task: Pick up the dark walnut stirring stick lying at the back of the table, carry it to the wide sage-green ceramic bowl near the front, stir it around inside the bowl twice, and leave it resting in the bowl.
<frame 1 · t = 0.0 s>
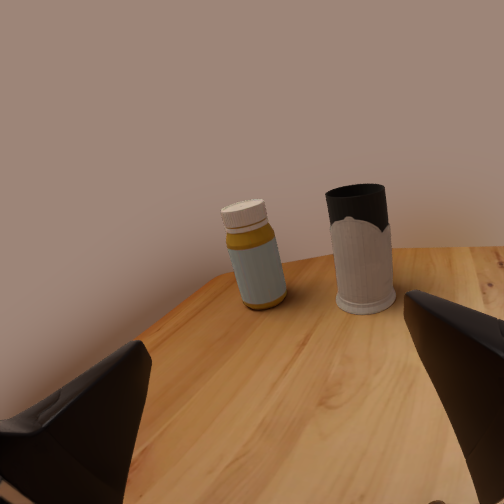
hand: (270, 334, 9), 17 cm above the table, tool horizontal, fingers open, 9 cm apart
bottle: (265, 299, 44), on the table
glass holder: (371, 287, 39), on the table
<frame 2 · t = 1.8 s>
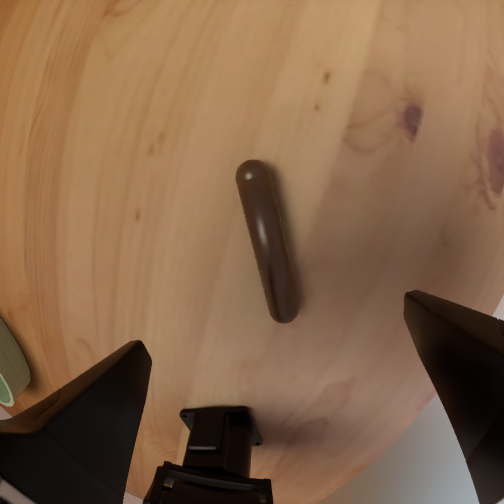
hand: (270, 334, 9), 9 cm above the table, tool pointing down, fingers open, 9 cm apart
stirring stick: (270, 242, 17), on the table
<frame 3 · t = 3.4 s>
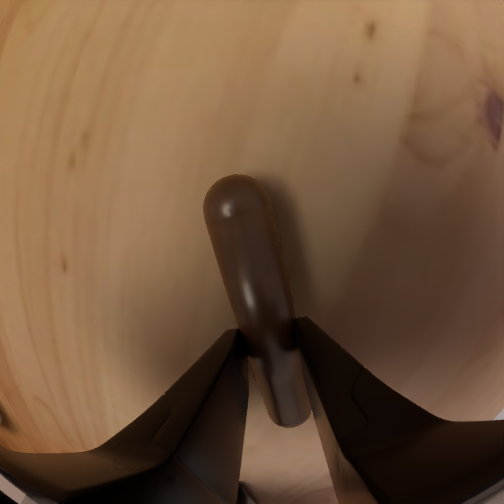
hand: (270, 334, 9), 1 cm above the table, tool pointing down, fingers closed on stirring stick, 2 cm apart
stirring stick: (270, 316, 10), on the table, touching gripper
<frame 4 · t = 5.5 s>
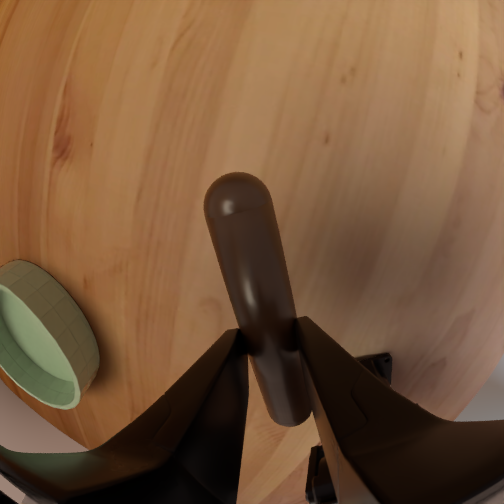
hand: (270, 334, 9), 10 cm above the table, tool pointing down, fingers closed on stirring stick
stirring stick: (270, 314, 10), point 9 cm above the table, touching gripper
bowl: (41, 327, 23), on the table
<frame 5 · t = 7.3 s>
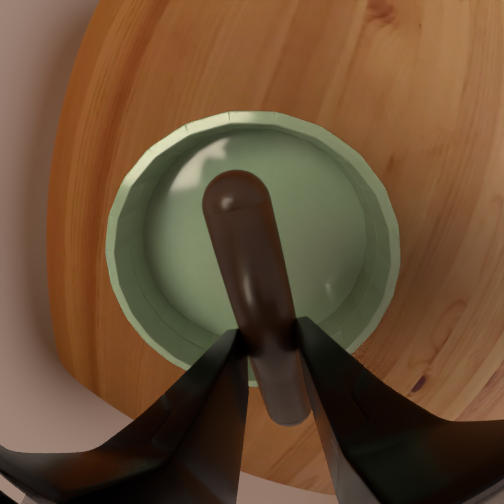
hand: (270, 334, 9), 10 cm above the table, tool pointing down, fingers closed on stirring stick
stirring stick: (269, 313, 10), point 9 cm above the table, touching gripper
bowl: (253, 246, 18), on the table
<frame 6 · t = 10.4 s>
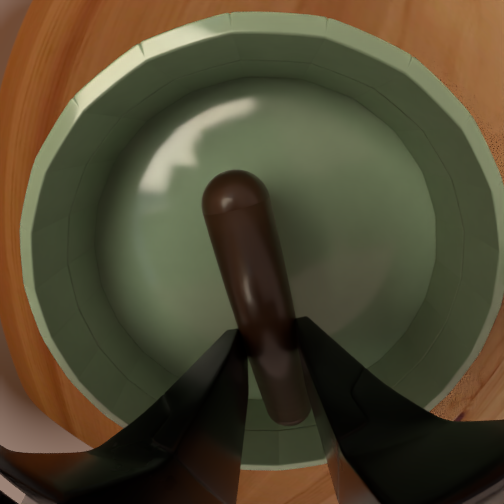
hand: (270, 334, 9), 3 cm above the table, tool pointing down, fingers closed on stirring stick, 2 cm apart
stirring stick: (268, 313, 10), point 2 cm above the table, touching gripper
bowl: (266, 269, 11), on the table
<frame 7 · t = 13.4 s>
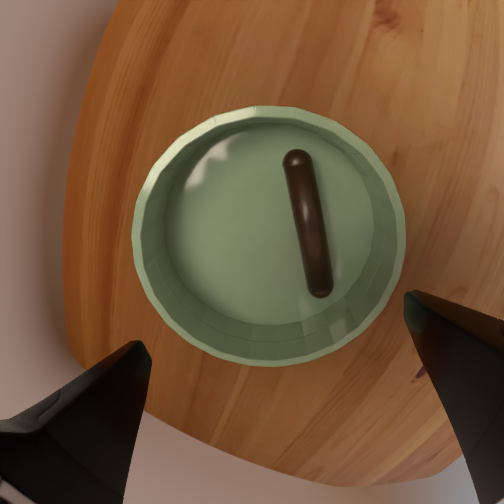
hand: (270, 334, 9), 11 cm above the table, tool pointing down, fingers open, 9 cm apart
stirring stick: (308, 233, 16), point 2 cm above the table, tilted 164°, touching bowl
bowl: (269, 232, 19), on the table
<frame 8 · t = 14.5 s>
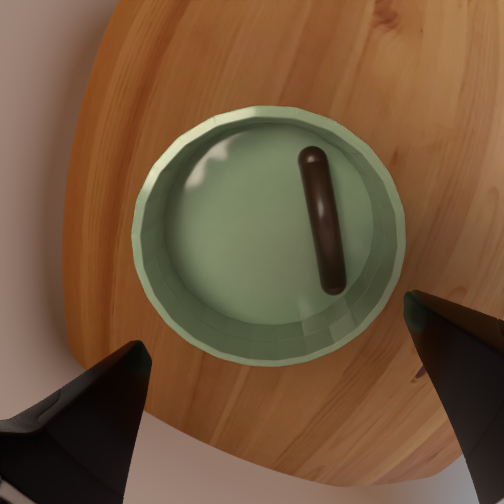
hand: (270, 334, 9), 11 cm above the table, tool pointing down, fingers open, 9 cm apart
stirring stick: (336, 226, 16), point 2 cm above the table, tilted 137°, touching bowl
bowl: (269, 232, 19), on the table
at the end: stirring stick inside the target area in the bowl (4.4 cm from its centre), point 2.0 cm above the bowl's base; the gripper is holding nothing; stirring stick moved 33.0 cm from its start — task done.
